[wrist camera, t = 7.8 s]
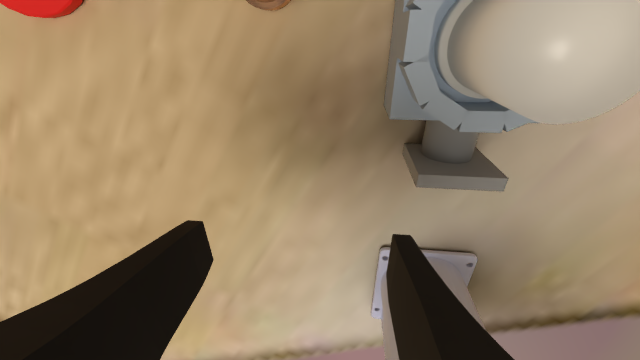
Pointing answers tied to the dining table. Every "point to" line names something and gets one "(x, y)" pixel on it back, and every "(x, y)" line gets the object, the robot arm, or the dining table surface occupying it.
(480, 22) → the cylinder
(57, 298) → the robot arm
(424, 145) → the valve
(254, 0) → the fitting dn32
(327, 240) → the dining table surface
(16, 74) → the dining table surface
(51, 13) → the tow hook
